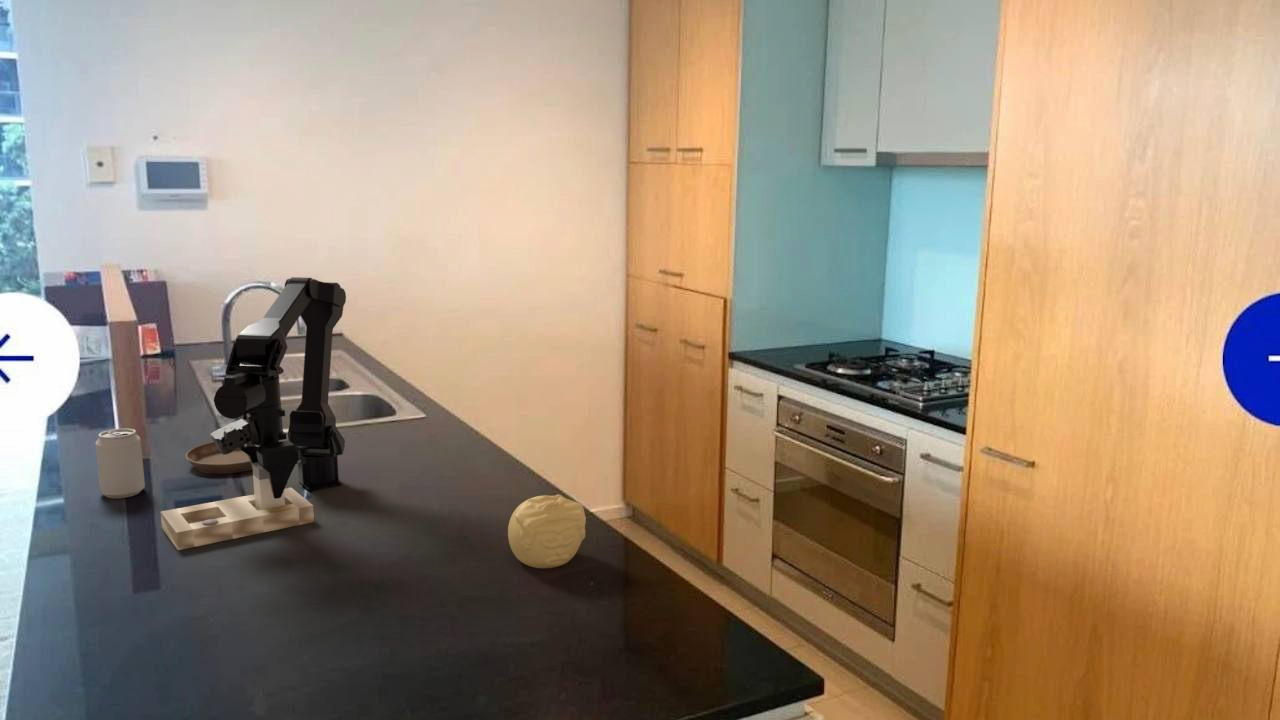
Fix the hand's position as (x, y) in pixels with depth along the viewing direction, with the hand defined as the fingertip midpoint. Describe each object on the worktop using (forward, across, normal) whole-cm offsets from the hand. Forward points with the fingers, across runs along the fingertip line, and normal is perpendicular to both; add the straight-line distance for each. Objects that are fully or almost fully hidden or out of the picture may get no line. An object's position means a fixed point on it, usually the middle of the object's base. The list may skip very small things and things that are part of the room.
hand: (269, 491), depth 172 cm
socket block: (+5, 0, -6) cm, 8 cm away
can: (+5, -30, -18) cm, 36 cm away
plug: (+5, 0, 0) cm, 5 cm away
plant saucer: (+6, -38, +4) cm, 39 cm away
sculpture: (+5, +44, +30) cm, 53 cm away
